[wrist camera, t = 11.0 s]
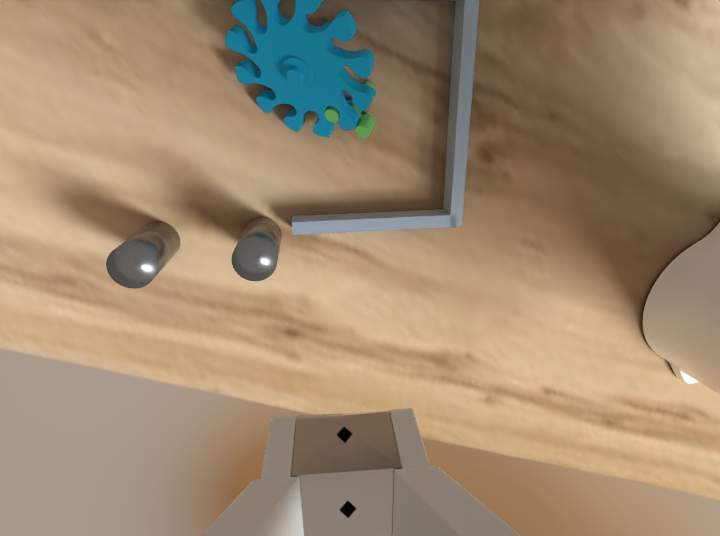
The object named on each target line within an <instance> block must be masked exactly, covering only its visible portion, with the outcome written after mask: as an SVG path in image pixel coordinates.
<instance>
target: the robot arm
mask: <svg viewBox="0 0 720 536" xmlns="http://www.w3.org/2000/svg"><path fill="white" fill-rule="evenodd" d="M643 331H644V335H645V338H646V341H647V343H648V345H649V346H650V347H651V349H652V350H653V351H654V352H655V353H656V354H658V355H659V356H661V357H662V358H664V359H665V360H667V361H668V362H669V363H670V364H671V367H672V369H673V372H674V374H675V375H676V377H677V378H679V379H680V380H682V381H684V382H686V383H688V384H693V383H697V382H700V383H702V384H703V385H705V386H707V387H708V388H710V389H712V390H713V391H715V392H717V393H718V394H720V222H719V224H718V225H717V226H716V227H715V228H714V229H713V230H712V232H711V233H710V234H708V235H707V236H706V237H704V238H703V239H702V240H700V241H698V242H697V243H695V244H694V245H692V246H690V247H689V248H688V249H686V250H685V251H683V252H682V253H681V254H680V255H679V256H677V257H676V258H675V259H674V260H673V261H672V262H671V263H670V264H669V265H668V266H667V267H666V268H665V270H664V271H663V272H662V273H661V275H660V276H659V277H658V279H657V281H656V282H655V284H654V285H653V287H652V289H651V291H650V293H649V296H648V298H647V301H646V304H645V308H644V313H643ZM201 536H520V535H519V534H518V533H517V532H515V531H514V530H513V529H512V528H511V527H510V526H508V525H507V524H506V523H505V522H504V521H502V520H501V519H500V518H499V517H498V516H496V515H495V514H494V513H493V512H492V511H490V510H489V509H488V508H487V507H486V506H484V505H483V504H482V503H481V502H480V501H479V500H477V499H476V498H475V497H474V496H473V495H471V494H470V493H469V492H468V491H466V490H465V489H464V488H463V487H462V486H461V485H459V484H458V483H457V482H455V480H453V479H452V478H451V477H450V476H449V475H447V474H446V473H445V472H444V471H443V470H441V469H440V468H439V467H431V466H430V463H429V460H428V457H427V453H426V450H425V447H424V444H423V440H422V437H421V434H420V430H419V427H418V424H417V421H416V417H415V414H414V411H413V410H412V409H411V408H407V409H396V410H389V411H376V412H362V413H347V414H322V415H298V416H281V417H273V418H272V420H271V423H270V429H269V435H268V441H267V447H266V452H265V458H264V464H263V470H262V476H261V479H258V480H253V481H252V482H251V483H250V484H249V485H248V486H247V487H246V488H245V490H243V492H242V493H241V494H240V495H239V496H238V497H237V498H236V499H235V500H234V501H233V502H232V503H231V504H230V505H229V506H228V508H227V509H226V510H225V511H224V512H223V513H222V514H221V515H220V516H219V517H218V518H217V519H216V520H215V521H214V523H213V524H212V525H211V526H210V527H209V528H208V529H207V530H206V531H205V532H204V533H203V534H202V535H201Z"/></svg>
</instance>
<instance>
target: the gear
mask: <svg viewBox="0 0 720 536" xmlns="http://www.w3.org/2000/svg"><path fill="white" fill-rule="evenodd" d="M280 1H281V0H261V2H262V4H263V6H264V9H265V12H266V16H267V27H265V26H264V25H262V24H261V23H260V21H259V19H258V16H257V3H256V1H255V0H238V1H237V2H236V3H235V4H234V5H233V6H232V7H231V11H232V13H233V15H234V16H235V17H236V18H237V19H238V20H239V21H240V22H242V23H243V24H244V25H245V26H246V28H247V29H248V30H249V31H250V33H251V34H252V36H253V38H254V40H255V43H256V45H257V46H255V45H254V44H252V42H251V41H250V39H249V37H248V35H247V33H246V31H245V30H244V29H243V28H242V27H241V26H240V25H237V24H236V25H235V26H234V27H233V28H232V29H231V30H230V31H229V32H228V34H227V36H226V43H225V44H226V45H227V47H228V48H230V49H231V50H233V51H235V52H239V53H241V54H243V55H245V56H247V57H248V58H249V59H251V60H252V61H253V62H254V63H255V64H256V65H257V66H258V67H259V68H260V70H261V71H260V70H258V69H257V68H256V67H255V66H254V65H253V64H252V63H251V62H250V61H248V60H245V59H244V60H241V61H240V62H239V63H238V64H237V66H236V67H235V71H236V75H237V78H238V80H239V82H240V83H242V84H250V83H258V84H262V85H264V86H267V87H269V88H271V89H272V90H273V91H274V92H275V93H273V92H271V91H269V90H262V91H261V93H260V94H259V95H258V96H257V98H256V101H257V103H258V105H259V106H260V107H261V109H262V110H263V111H264V112H265V113H269V112H271V111H272V110H273V108H274V107H275V106H276V105H279V104H290V105H292V106H293V107H294V108H295V109H296V110H290V111H289V113H288V114H287V115H286V117H285V118H284V123H285V124H286V125H287V126H288V127H289V128H291V129H292V130H294V131H296V132H298V131H299V130H300V128H301V127H302V125H303V124H304V122H305V113H306V112H307V111H314V112H315V113H316V114H317V115H318V116H319V118H318V120H317V122H316V123H315V125H314V127H313V131H314V133H315V134H317V135H319V136H323V137H329V136H330V135H331V133H332V131H333V129H334V124H333V123H335V122H337V121H338V124H339V126H340V127H341V129H343V130H350V129H353V128H355V127H356V126H357V127H356V129H355V132H356V134H357V135H358V136H359V137H360V138H363V139H365V138H368V137H369V135H370V133H371V131H372V129H373V128H374V126H375V124H376V120H375V118H374V117H373V116H372V115H370V114H367V112H368V110H369V105H370V103H371V101H372V99H373V98H374V96H375V94H376V92H375V90H374V89H373V88H374V84H373V82H371V81H369V80H368V81H366V82H365V83H364V84H361V83H359V82H358V81H356V80H355V79H353V78H352V77H351V76H350V75H349V74H348V72H347V71H346V70H345V69H344V67H343V65H346V66H349V67H350V68H351V69H352V70H353V71H354V73H355V74H356V75H357V76H359V77H361V78H368V77H369V75H370V73H371V72H372V70H373V67H374V53H373V52H372V51H370V50H367V49H363V50H360V51H355V52H353V51H346V50H344V49H341V48H339V47H337V46H335V45H334V44H333V43H332V42H331V40H332V38H333V37H334V38H336V39H338V40H340V41H349V40H350V39H351V38H352V37H353V35H354V34H355V32H356V31H357V26H356V23H355V20H354V19H353V17H352V15H351V13H350V12H349V10H342V11H340V12H339V13H338V15H337V16H336V17H335V19H334V20H333V21H332V22H331V21H326V22H325V23H324V24H323V25H322V26H313V25H311V24H310V23H309V22H308V20H307V18H306V15H307V14H312V13H314V12H315V11H316V10H317V9H318V7H319V6H320V5H321V4H322V2H323V0H296V9H295V13H294V16H293V18H291V19H287V18H285V17H284V16H282V14H281V13H280V11H279V6H278V5H279V2H280ZM358 123H359V124H358Z"/></svg>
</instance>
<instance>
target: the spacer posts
mask: <svg viewBox="0 0 720 536" xmlns="http://www.w3.org/2000/svg"><path fill="white" fill-rule="evenodd" d="M281 237H282V235H281V230H280V228H279V226H278V225H277V223H275V222H274V221H273V220H271V219H269V218H265V217H258V218H255V219H253V220H251V221H250V222H249V223H248V224H247V225H246V227H245V229H244V231H243V233H242V235H241V237H240V239H239V241H238V243H237V245H236V247H235V250H234V252H233V254H232V265H233V268H234V269H235V271H236V272H237V273H238V275H240V276H241V277H242V278H244V279H247V280H250V281H261V280H264V279H266V278H268V277H269V276H271V275H272V273H273V272H274V271H275V268H276V265H277V260H278V254H279V249H280V243H281ZM179 246H180V238H179V235H178V233H177V232H176V230H175V229H174V228H173V227H172V226H170V225H168V224H166V223H163V222H152V223H149V224H147V225H146V226H145V227H143V228H142V229H141V230H139V231H138V232H137V233H136V234H134V235H133V236H132V237H130V238H129V239H128V240H126V241H125V242H124V243H123V244H121V245H120V246H119V247H117V248H116V249H115V250H113V251H112V252H111V253H110V255H109V256H108V258H107V263H106V266H107V271H108V273H109V275H110V276H111V278H112V279H113V280H114V281H115V282H117V283H118V284H120V285H122V286H124V287H127V288H141V287H144V286H146V285H148V284H149V283H150V282H151V281H152V280H153V279H154V277H155V276H156V275H157V274H158V273H159V272H160V270H161V269H162V268H163V267H164V266H165V265H166V264H167V262H168V261H169V260H170V259H171V258H172V257H173V255H174V254H175V253H176V252H177V251H178V249H179Z"/></svg>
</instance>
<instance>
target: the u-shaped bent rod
mask: <svg viewBox="0 0 720 536" xmlns="http://www.w3.org/2000/svg"><path fill="white" fill-rule="evenodd" d="M438 1H455V16H454V33H453V50H452V66H451V83H450V100H449V117H448V133H447V150H446V167H445V184H444V201H443V209H435V210H412V211H390V212H367V213H344V214H322V215H299V216H292V232H293V235H301V234H321V233H342V232H362V231H382V230H403V229H423V228H443V227H462V218H463V206H464V193H465V180H466V167H467V154H468V141H469V129H470V116H471V103H472V90H473V77H474V64H475V52H476V39H477V26H478V13H479V0H438Z"/></svg>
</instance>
